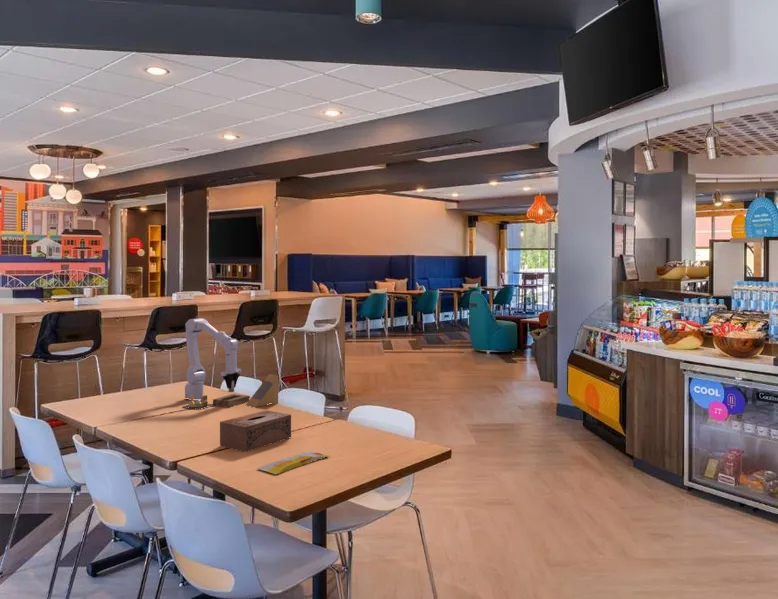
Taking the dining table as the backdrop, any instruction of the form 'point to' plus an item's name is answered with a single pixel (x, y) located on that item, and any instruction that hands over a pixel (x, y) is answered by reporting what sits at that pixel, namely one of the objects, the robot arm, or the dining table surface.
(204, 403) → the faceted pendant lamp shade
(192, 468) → the dining table surface
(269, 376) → the sandwich container
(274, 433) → the tissue box cover
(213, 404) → the nut base
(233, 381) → the pin
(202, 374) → the robot arm
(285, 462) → the food package
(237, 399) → the slot block
